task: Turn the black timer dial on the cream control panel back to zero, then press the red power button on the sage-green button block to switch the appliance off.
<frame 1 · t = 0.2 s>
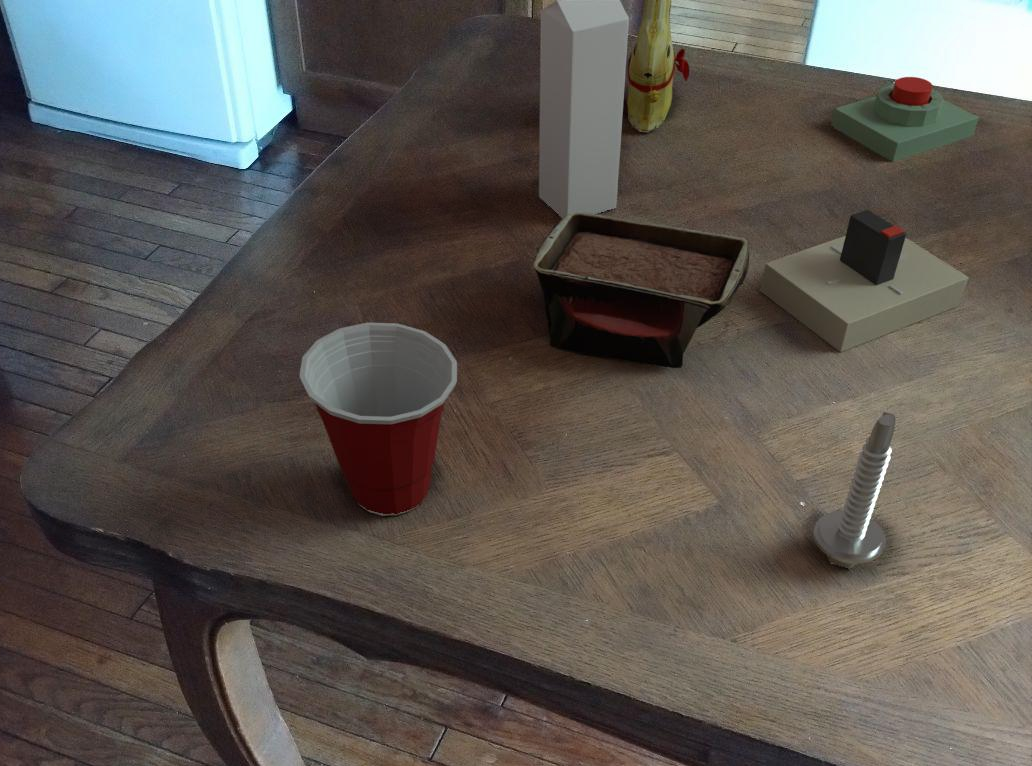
control panel: (858, 298, 97), on the table
power button: (911, 92, 117), point 4 cm above the table, slide at 0.1 cm
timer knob: (872, 246, 93), point 5 cm above the table, hinge at 90.0°
chocolate bunny: (654, 121, 124), on the table
milk: (577, 205, 111), on the table
baking dish: (633, 326, 95), on the table
button block: (901, 131, 120), on the table
plastic cup: (394, 493, 81), on the table
screw: (842, 557, 75), on the table
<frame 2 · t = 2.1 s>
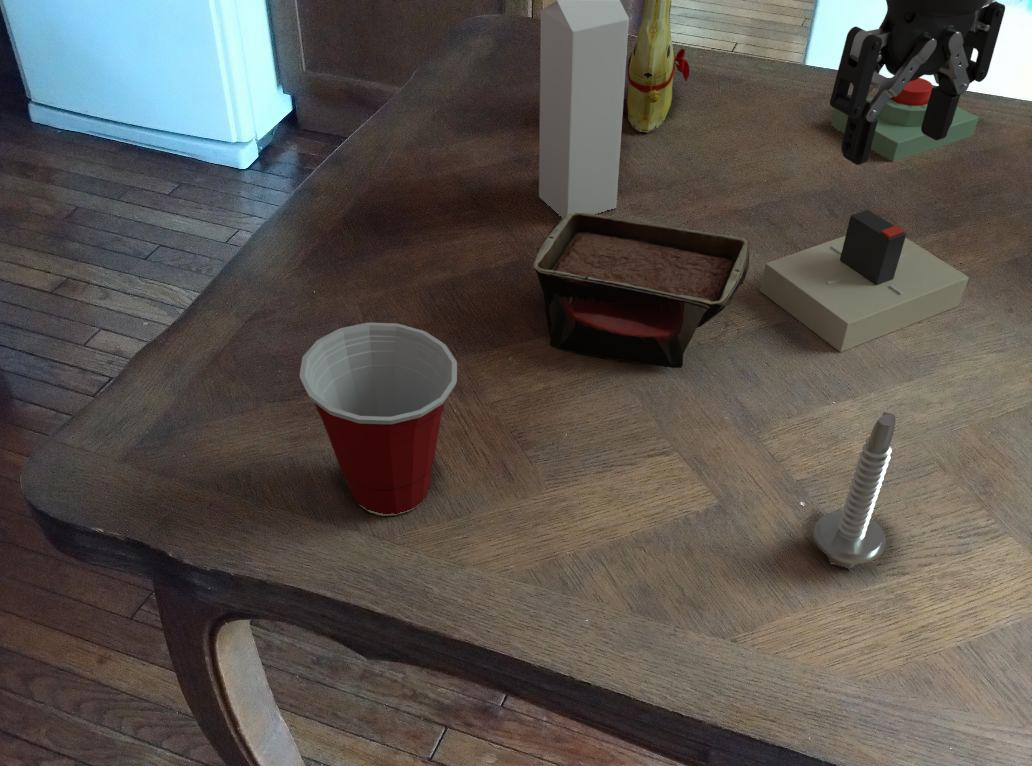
hand: (894, 147, 87), 14 cm above the table, tool pointing down, fingers open, 8 cm apart
nothing on the table moved.
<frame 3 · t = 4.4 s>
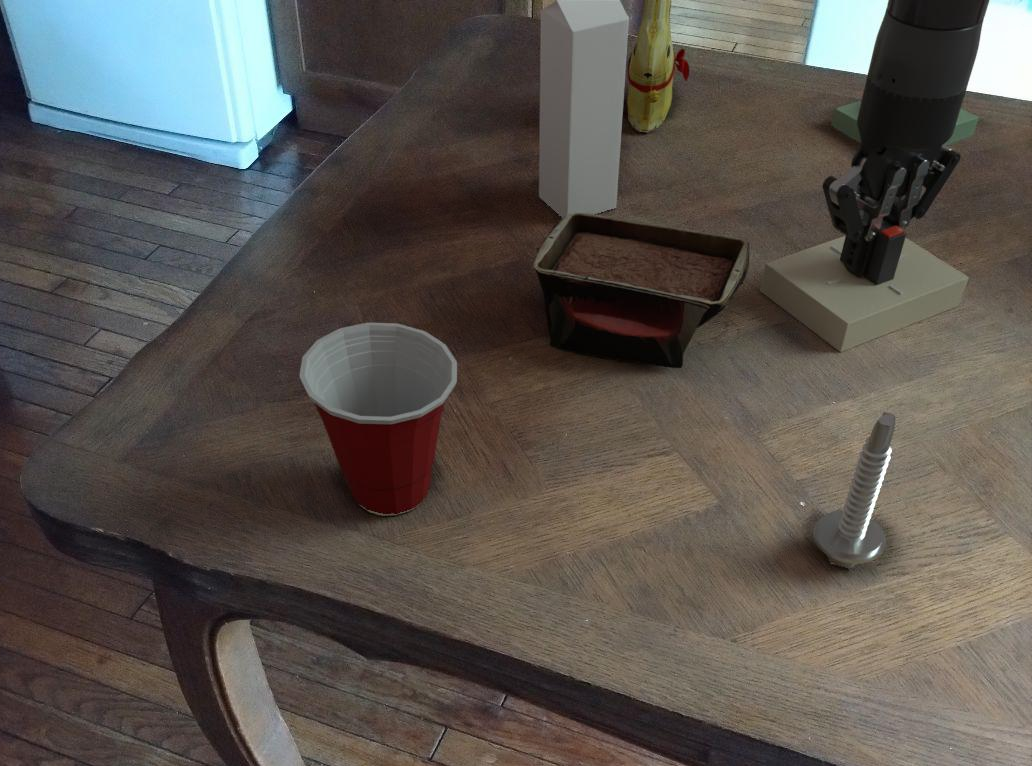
hand: (867, 267, 95), 3 cm above the table, tool pointing down, fingers closed on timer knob, 2 cm apart
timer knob: (872, 246, 93), point 5 cm above the table, hinge at 90.0°, touching gripper
everything else where it was.
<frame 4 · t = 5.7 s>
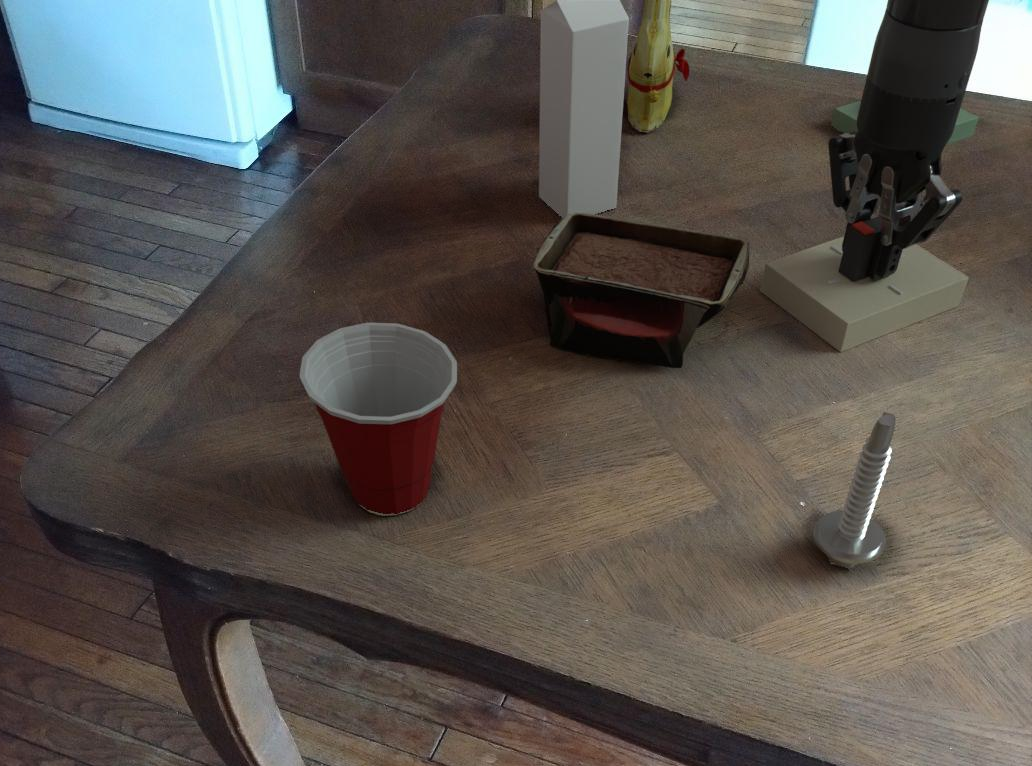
hand: (866, 267, 95), 3 cm above the table, tool pointing down, fingers open, 3 cm apart
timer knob: (872, 246, 93), point 5 cm above the table, hinge at -0.1°
everything else where it was.
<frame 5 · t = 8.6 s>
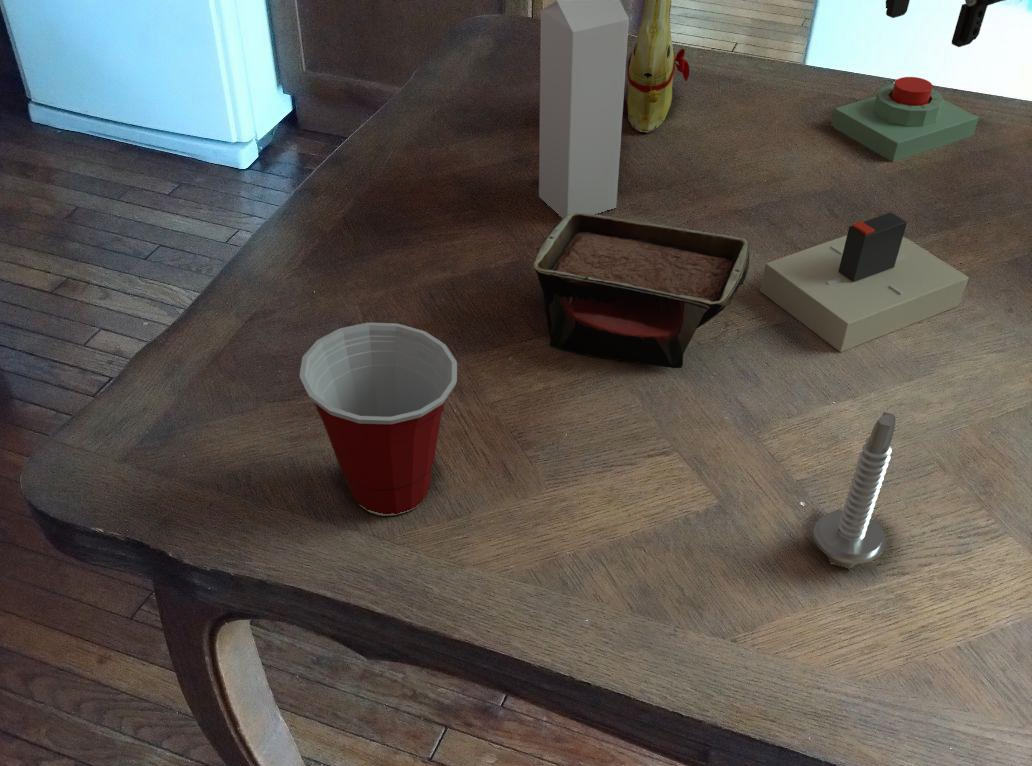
hand: (927, 29, 103), 15 cm above the table, tool pointing down, fingers open, 8 cm apart
nothing on the table moved.
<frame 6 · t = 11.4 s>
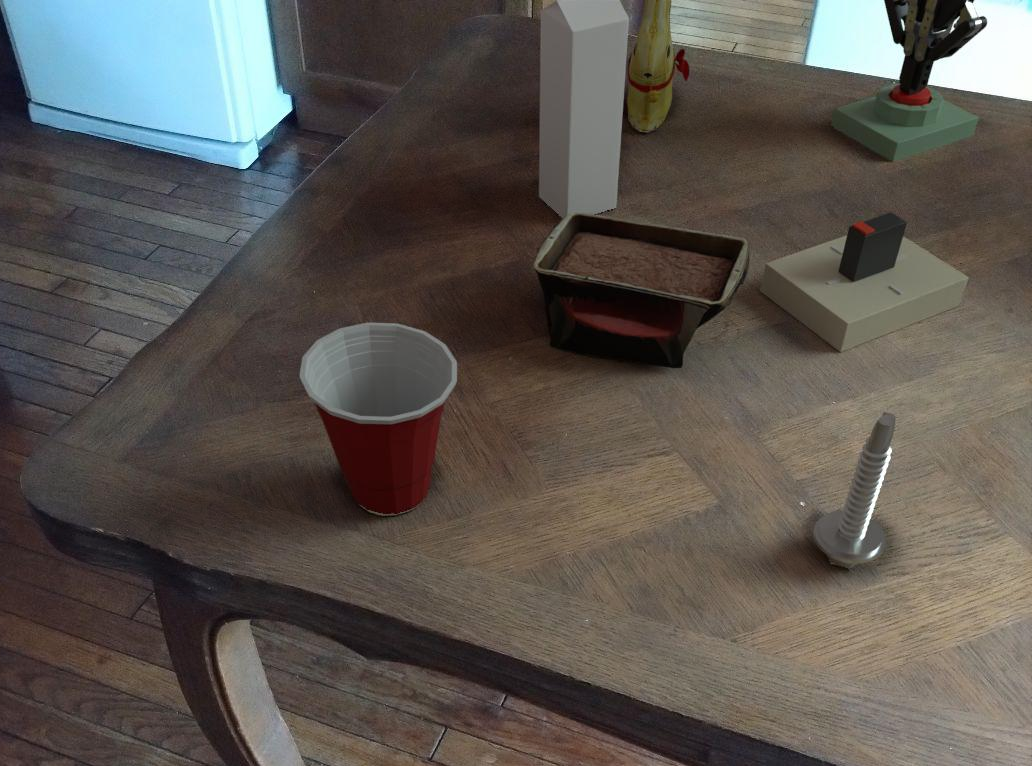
hand: (910, 91, 117), 5 cm above the table, tool pointing down, fingers closed
power button: (909, 98, 117), point 4 cm above the table, slide at -0.6 cm, touching gripper
everything else where it was.
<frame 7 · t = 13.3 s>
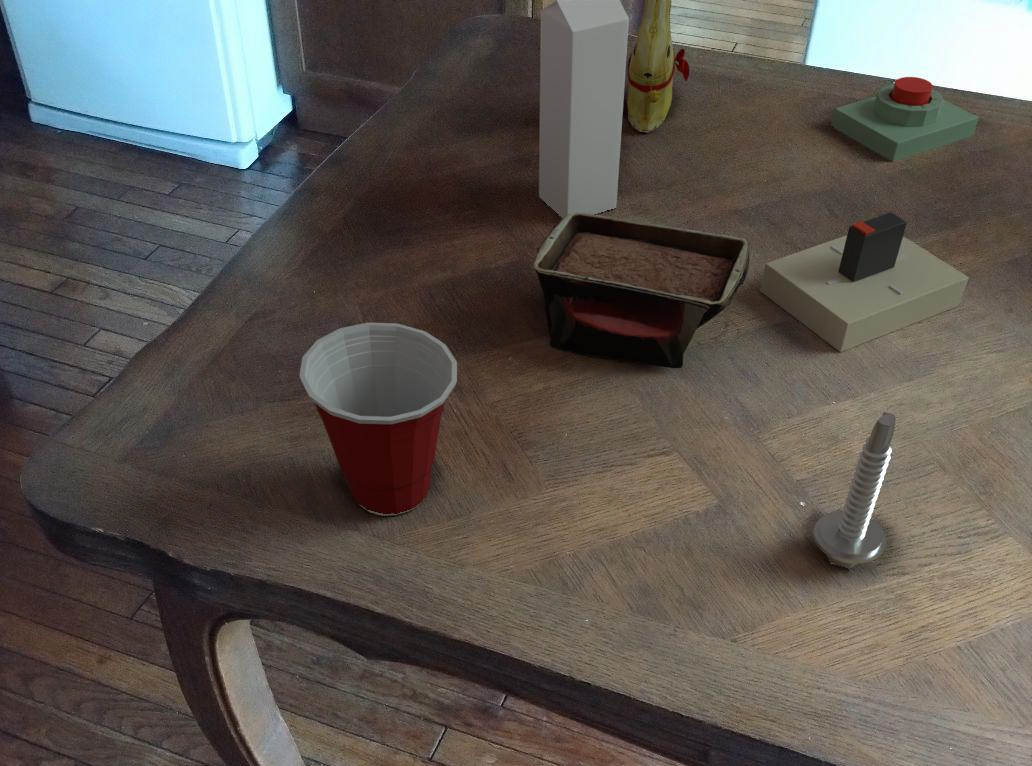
power button: (911, 92, 117), point 4 cm above the table, slide at 0.1 cm
everything else where it was.
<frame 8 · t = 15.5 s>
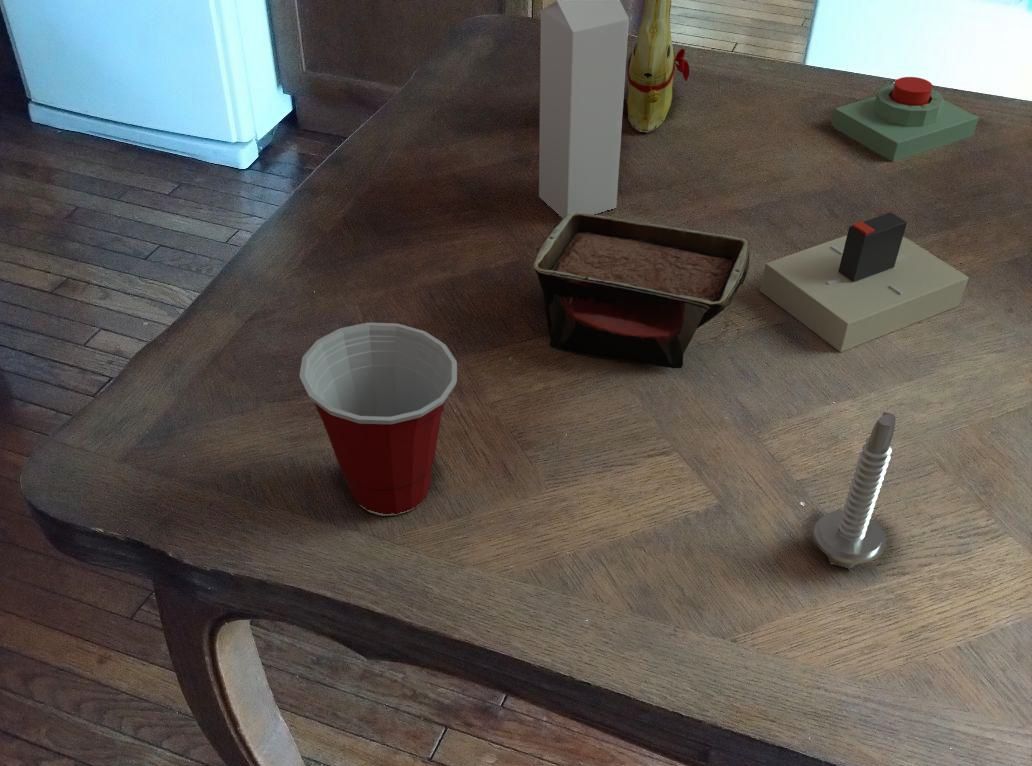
nothing on the table moved.
at the end: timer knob at +0° (first picture: +90°); power button pushed in 1.1 cm at the most during the clip, back to where it started at the end; power button slide at 0.1 cm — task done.
